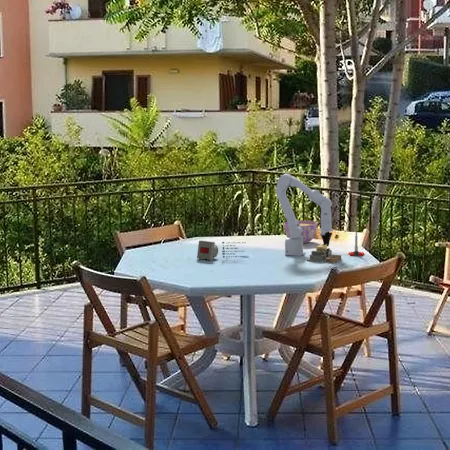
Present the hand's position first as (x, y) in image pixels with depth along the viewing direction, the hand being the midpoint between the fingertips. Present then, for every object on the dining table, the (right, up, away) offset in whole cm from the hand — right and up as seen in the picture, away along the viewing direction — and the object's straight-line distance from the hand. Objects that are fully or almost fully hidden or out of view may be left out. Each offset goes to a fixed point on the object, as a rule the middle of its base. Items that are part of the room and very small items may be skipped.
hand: (326, 246), depth 427 cm
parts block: (+2, -7, -16) cm, 18 cm away
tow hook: (+16, -5, 0) cm, 17 cm away
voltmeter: (-57, -7, -4) cm, 57 cm away
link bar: (-3, -3, -8) cm, 9 cm away
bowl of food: (-10, +1, +41) cm, 42 cm away
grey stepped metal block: (-4, -6, -9) cm, 12 cm away
